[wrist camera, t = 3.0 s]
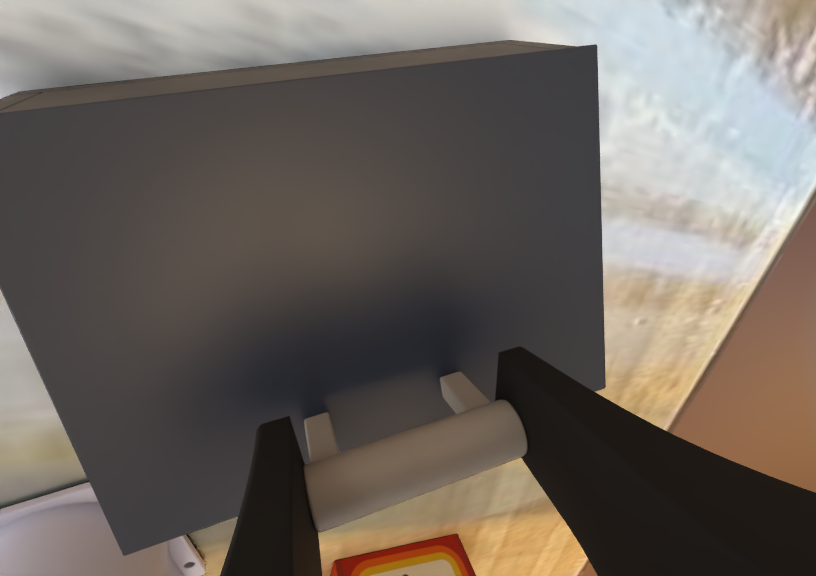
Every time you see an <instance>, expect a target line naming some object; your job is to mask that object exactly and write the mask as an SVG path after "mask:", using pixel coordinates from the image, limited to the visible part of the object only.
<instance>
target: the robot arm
mask: <svg viewBox="0 0 816 576" xmlns="http://www.w3.org/2000/svg"><path fill="white" fill-rule="evenodd" d="M497 400H506V401H508V402H509V403H510V404H511V405H512V406H513V407H514V409H515V410H516V412H517V413H518V415H519V417H520V419H521V421H522V424H523V426H524V429H525V432H526V436H527V442H528V449H527V453H526V454H525V455H524V456H523V457H521V458H522V459H523V461H524V462H525V464H526V465H527V467H528V468H529V469H530V471H531V472H532V474H533V475H534V477H535V478H536V480H537V481H538V483H539V484H540V486H541V487H542V488H543V490H544V491H545V493H546V494H547V496H548V497H549V499H550V500H551V501H552V503H553V504H554V506H555V507H556V509H557V510H558V512H559V513H560V515H561V516H562V517H563V519H564V520H565V522H566V523H567V525H568V526H569V528H570V529H571V531H572V532H573V534H574V536H575V537H576V539H577V540H578V542H579V543H580V545H581V547H582V548H583V550H584V552H585V554H586V556H587V557H588V559H589V561H590V563H591V564H592V566H593V568H594V570H595V571H596V573H597V575H598V576H816V493H815V492H812V491H809V490H806V489H803V488H800V487H798V486H795V485H792V484H789V483H787V482H784V481H781V480H778V479H776V478H773V477H770V476H768V475H765V474H763V473H760V472H758V471H755V470H753V469H750V468H748V467H745V466H743V465H740V464H738V463H735V462H733V461H731V460H728V459H726V458H723V457H721V456H719V455H716V454H714V453H712V452H710V451H707V450H705V449H703V448H701V447H699V446H696V445H694V444H692V443H690V442H688V441H686V440H683V439H681V438H679V437H677V436H675V435H673V434H671V433H669V432H667V431H665V430H663V429H661V428H659V427H657V426H655V425H653V424H651V423H649V422H647V421H646V420H644V419H642V418H640V417H638V416H636V415H634V414H632V413H631V412H629V411H627V410H625V409H623V408H621V407H620V406H618V405H616V404H614V403H613V402H611V401H609V400H607V399H606V398H604V397H602V396H601V395H599V394H597V393H596V392H594V391H592V390H590V389H589V388H587V387H585V386H584V385H582V384H581V383H579V382H577V381H576V380H574V379H572V378H571V377H569V376H568V375H566V374H564V373H563V372H561V371H560V370H558V369H556V368H555V367H553V366H552V365H550V364H549V363H547V362H545V361H544V360H542V359H541V358H539V357H538V356H536V355H534V354H533V353H531V352H530V351H528V350H526V349H525V348H523V347H521V346H518V347H515V348H512V349H508V350H505V351H502V352H499V353H498V366H497V380H496V394H495V401H497ZM304 466H305V463H304V460H303V457H302V454H301V450H300V447H299V444H298V441H297V438H296V435H295V432H294V429H293V426H292V422H291V419H290V416H287V417H283V418H280V419H277V420H273V421H270V422H267V423H263V424H261V425H260V426H259V427H258V428H257V431H256V440H255V446H254V452H253V458H252V463H251V468H250V472H249V477H248V481H247V486H246V490H245V494H244V497H243V501H242V505H241V509H240V512H239V516H238V520H237V523H236V527H235V531H234V534H233V537H232V541H231V544H230V547H229V550H228V553H227V556H226V559H225V562H224V565H223V568H222V571H221V574H220V576H322V569H321V559H320V549H319V539H318V531H317V530H316V528H315V526H314V523H313V520H312V516H311V512H310V508H309V504H308V498H307V491H306V484H305V478H304V470H303V467H304ZM205 571H206V564H205V562H204V561H203V559H202V558H201V556H200V555H199V553H198V552H197V550H196V549H195V547H194V546H193V544H192V543H191V541H190V540H189V538H188V537H187V535H183V536H180V537H177V538H175V539H172V540H169V541H166V542H163V543H160V544H157V545H154V546H152V547H149V548H146V549H143V550H140V551H137V552H134V553H132V554H129V555H126V556H123V554H122V552H121V550H120V548H119V545H118V543H117V541H116V539H115V537H114V535H113V532H112V530H111V528H110V526H109V524H108V522H107V519H106V517H105V515H104V513H103V511H102V509H101V506H100V504H99V502H98V500H97V498H96V495H95V493H94V491H93V489H92V487H91V485H90V482H87V483H84V484H80V485H77V486H74V487H71V488H67V489H64V490H61V491H58V492H54V493H51V494H48V495H44V496H41V497H38V498H35V499H31V500H28V501H25V502H22V503H18V504H15V505H12V506H9V507H5V508H2V509H0V576H202V575H203V574H204V573H205Z"/></svg>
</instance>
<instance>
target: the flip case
mask: <svg viewBox="0 0 816 576" xmlns="http://www.w3.org/2000/svg"><path fill="white" fill-rule="evenodd" d="M569 47H576V46H566V45H556V44H545V43H535V42H524V41H513V40H507V41H497V42H488V43H478V44H469V45H459V46H449V47H440V48H430V49H421V50H411V51H402V52H392V53H383V54H373V55H364V56H354V57H345V58H335V59H326V60H316V61H307V62H297V63H288V64H278V65H268V66H259V67H249V68H240V69H230V70H221V71H211V72H202V73H192V74H183V75H173V76H164V77H154V78H145V79H135V80H126V81H116V82H106V83H97V84H87V85H78V86H68V87H59V88H49V89H40V90H30V91H21V92H17V93H15V94H12V95H10V96H7V97H5V98H2V99H0V112H8V111H17V110H26V109H34V108H43V107H52V106H61V105H69V104H78V103H87V102H96V101H105V100H113V99H122V98H131V97H140V96H148V95H157V94H166V93H175V92H183V91H192V90H201V89H210V88H219V87H227V86H236V85H245V84H254V83H262V82H271V81H280V80H289V79H297V78H306V77H315V76H324V75H333V74H341V73H350V72H359V71H368V70H376V69H385V68H394V67H403V66H411V65H420V64H429V63H438V62H447V61H455V60H464V59H473V58H482V57H490V56H499V55H508V54H517V53H525V52H534V51H543V50H552V49H561V48H569Z"/></svg>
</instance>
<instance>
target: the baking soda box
mask: <svg viewBox="0 0 816 576" xmlns="http://www.w3.org/2000/svg"><path fill="white" fill-rule="evenodd" d="M330 576H476V575H475V572H474V570H473V568H472V566H471V563H470V561H469V559H468V557H467V554H466V552H465V550H464V548H463V545H462V543H461V541H460V539H459V536H458V534H455V535H450V536H446V537H441V538H436V539H432V540H427V541H423V542H418V543H414V544H409V545H405V546H400V547H396V548H391V549H387V550H382V551H377V552H373V553H368V554H364V555H359V556H355V557H350V558H346V559H341V560H337V561H334V565H333V568H332V572H331V575H330Z"/></svg>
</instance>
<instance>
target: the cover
mask: <svg viewBox="0 0 816 576" xmlns="http://www.w3.org/2000/svg"><path fill="white" fill-rule="evenodd" d="M0 289H1V291H2V293H3V296H4V298H5V300H6V302H7V304H8V307H9V309H10V311H11V313H12V315H13V317H14V320H15V322H16V324H17V326H18V328H19V330H20V333H21V335H22V337H23V339H24V341H25V343H26V346H27V348H28V350H29V352H30V354H31V356H32V359H33V361H34V363H35V365H36V367H37V370H38V372H39V374H40V376H41V378H42V380H43V383H44V385H45V387H46V389H47V391H48V393H49V396H50V398H51V400H52V402H53V404H54V406H55V409H56V411H57V413H58V415H59V417H60V419H61V422H62V424H63V426H64V428H65V430H66V433H67V435H68V437H69V439H70V441H71V443H72V446H73V448H74V450H75V452H76V454H77V456H78V459H79V461H80V463H81V465H82V467H83V469H84V472H85V474H86V476H87V478H88V480H89V482H90V485H91V487H92V489H93V491H94V493H95V495H96V498H97V500H98V502H99V504H100V506H101V509H102V511H103V513H104V515H105V517H106V519H107V522H108V524H109V526H110V528H111V530H112V532H113V535H114V537H115V539H116V541H117V543H118V545H119V548H120V550H121V552H122V554H123V556H126V555H129V554H132V553H134V552H137V551H140V550H143V549H146V548H149V547H152V546H154V545H157V544H160V543H163V542H166V541H169V540H172V539H175V538H177V537H180V536H183V535H186V534H189V533H192V532H195V531H197V530H200V529H203V528H206V527H209V526H212V525H215V524H217V523H220V522H223V521H226V520H229V519H232V518H235V517H237V516H239V512H240V509H241V505H242V501H243V497H244V494H245V490H246V486H247V481H248V477H249V472H250V468H251V463H252V458H253V452H254V446H255V440H256V431H257V428H258V427H259V426H260V425H261V424H263V423H267V422H270V421H273V420H277V419H280V418H283V417H287V416H290V419H291V422H292V426H293V429H294V432H295V435H296V438H297V441H298V444H299V447H300V450H301V454H302V457H303V460H304V463H305V466H304V467H303V470H304V478H305V484H306V491H307V498H308V504H309V508H310V512H311V516H312V520H313V523H314V526H315V528H316V530H317V531H318V532H323V531H326V530H329V529H331V528H334V527H337V526H339V525H342V524H345V523H347V522H350V521H353V520H355V519H358V518H361V517H363V516H366V515H369V514H371V513H374V512H377V511H379V510H382V509H385V508H387V507H390V506H393V505H395V504H398V503H401V502H403V501H406V500H409V499H411V498H414V497H417V496H419V495H422V494H425V493H427V492H430V491H433V490H435V489H438V488H441V487H443V486H446V485H449V484H451V483H454V482H457V481H459V480H462V479H465V478H467V477H470V476H473V475H475V474H478V473H481V472H483V471H486V470H489V469H491V468H494V467H497V466H499V465H502V464H505V463H507V462H510V461H513V460H515V459H518V458H521V457H523V456H524V455H525V454H526V453H527V449H528V442H527V436H526V432H525V429H524V426H523V424H522V421H521V419H520V417H519V415H518V413H517V412H516V410H515V409H514V407H513V406H512V405H511V404H510V403H509V402H508V401H506V400H497V401H495V394H496V380H497V366H498V353H499V352H502V351H505V350H508V349H512V348H515V347H518V346H521V347H523V348H525V349H526V350H528V351H530V352H531V353H533V354H534V355H536V356H538V357H539V358H541V359H542V360H544V361H545V362H547V363H549V364H550V365H552V366H553V367H555V368H556V369H558V370H560V371H561V372H563V373H564V374H566V375H568V376H569V377H571V378H572V379H574V380H576V381H577V382H579V383H581V384H582V385H584V386H585V387H587V388H589V389H590V390H592V391H594V392H595V391H598V390H601V389H604V388H605V387H606V385H605V344H604V304H603V264H602V223H601V183H600V142H599V102H598V61H597V45H587V46H578V47H569V48H561V49H552V50H543V51H534V52H525V53H517V54H508V55H499V56H490V57H482V58H473V59H464V60H455V61H447V62H438V63H429V64H420V65H411V66H403V67H394V68H385V69H376V70H368V71H359V72H350V73H341V74H333V75H324V76H315V77H306V78H297V79H289V80H280V81H271V82H262V83H254V84H245V85H236V86H227V87H219V88H210V89H201V90H192V91H183V92H175V93H166V94H157V95H148V96H140V97H131V98H122V99H113V100H105V101H96V102H87V103H78V104H69V105H61V106H52V107H43V108H34V109H26V110H17V111H8V112H0Z"/></svg>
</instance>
